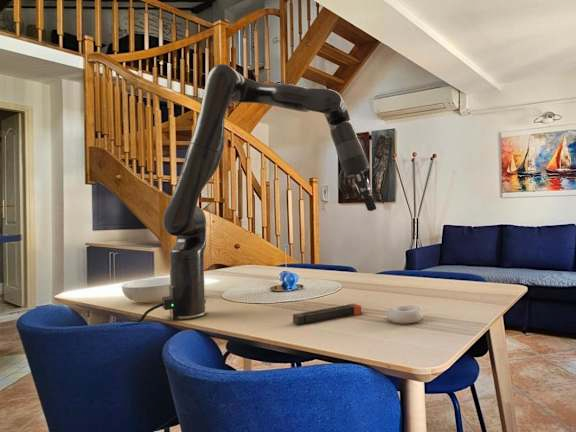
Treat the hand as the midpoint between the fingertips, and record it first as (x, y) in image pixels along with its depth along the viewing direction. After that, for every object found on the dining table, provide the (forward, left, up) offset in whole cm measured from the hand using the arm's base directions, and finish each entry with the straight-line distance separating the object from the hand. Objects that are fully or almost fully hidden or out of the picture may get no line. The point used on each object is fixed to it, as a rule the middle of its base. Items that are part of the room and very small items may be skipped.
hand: (372, 210), depth 120 cm
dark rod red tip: (-12, +6, -30) cm, 33 cm away
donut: (+3, -10, -31) cm, 32 cm away
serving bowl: (-47, +69, -31) cm, 89 cm away
